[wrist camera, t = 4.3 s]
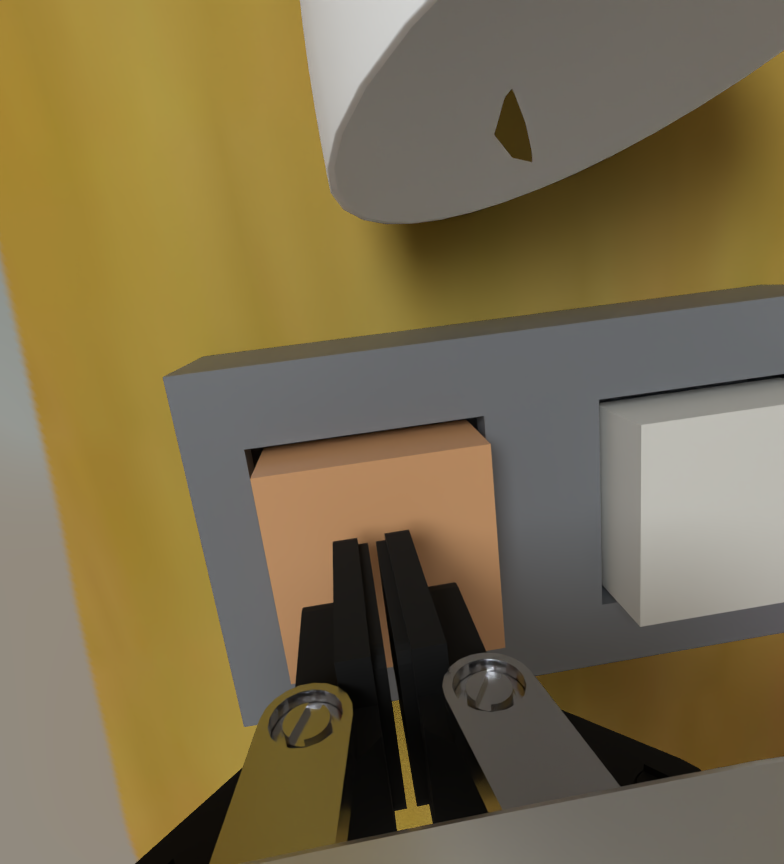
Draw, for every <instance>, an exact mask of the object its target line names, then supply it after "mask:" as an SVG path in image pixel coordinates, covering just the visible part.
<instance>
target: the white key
mask: <svg viewBox="0 0 784 864" xmlns="http://www.w3.org/2000/svg"><path fill="white" fill-rule="evenodd" d="M599 432H600V496H601V560H602V585H603V586H604V587H605V588H606V590H607V591H608V592H609V593H610V594H611V595H612V596H613V597H614V598H615V600H616V601H617V602H618V603H619V604H620V605H621V606H622V607H623V608H624V609H625V611H626V612H627V613H628V614H629V615H630V616H631V617H632V618H633V619H634V621H635V622H636V623H637V624H638V625H639V626H640V627H642V626H648V625H654V624H660V623H666V622H672V621H678V620H683V619H689V618H695V617H701V616H707V615H713V614H718V613H724V612H730V611H736V610H742V609H748V608H754V607H759V606H765V605H771V604H777V603H783V602H784V378H773V379H766V380H759V381H752V382H745V383H737V384H730V385H723V386H716V387H709V388H702V389H695V390H688V391H681V392H674V393H667V394H659V395H652V396H645V397H638V398H631V399H624V400H617V401H610V402H603V403H599Z"/></svg>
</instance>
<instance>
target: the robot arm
mask: <svg viewBox="0 0 784 864" xmlns="http://www.w3.org/2000/svg"><path fill="white" fill-rule="evenodd" d="M384 535H385V540H382V541H376V547H377V555H378V562H379V569H380V576H381V584H382V591H383V598H384V605H385V613H386V620H387V627H388V634H389V642H390V649H391V655H392V662H393V668H394V674H395V680H396V686H397V691H398V697H399V703H400V709H401V715H402V721H403V727H404V733H405V738H406V744H407V750H408V756H409V762H410V768H411V774H412V780H413V785H414V791H415V797H416V803H417V806H422V805H427V804H429V806H430V811H431V816H432V821H433V824H430V825H425V826H420V827H415V828H410V829H405V830H400V831H397V828H396V820H395V812H394V811H397V810H402V809H407V806H406V799H405V792H404V785H403V778H402V771H401V763H400V756H399V749H398V742H397V735H396V728H395V721H394V714H393V707H392V700H391V693H390V686H389V679H388V672H387V665H386V658H385V651H384V645H383V638H382V631H381V625H380V618H379V612H378V605H377V599H376V592H375V586H374V579H373V573H372V566H371V560H370V553H369V547H368V543H363V544H358V539H357V538H352V539H346V540H339V541H333V603H327V604H321V605H315V606H309V607H303V608H302V613H301V624H300V636H299V648H298V659H297V671H296V683H295V688H293V689H290V690H288V691H286V692H284V693H283V694H281V695H280V696H278V697H277V698H275V699H274V700H273V701H272V702H271V703H270V704H269V705H268V707H267V708H266V709H265V710H264V712H263V714H262V716H261V718H260V720H259V722H258V725H257V728H256V731H255V734H254V736H253V739H252V742H251V745H250V748H249V751H248V754H247V757H246V759H245V762H244V765H243V768H242V769H240V770H239V771H238V772H237V773H236V774H235V775H234V776H233V777H232V778H230V779H229V780H228V781H227V782H226V783H225V784H224V785H223V786H221V787H220V788H219V789H218V790H217V791H216V792H215V793H214V794H213V795H211V796H210V797H209V798H208V799H207V800H206V801H205V802H204V803H202V804H201V805H200V806H199V807H198V808H197V809H196V810H195V811H194V812H192V813H191V814H190V815H189V816H188V817H187V818H186V819H185V820H183V821H182V822H181V823H180V824H179V825H178V826H177V827H176V828H175V829H173V830H172V831H171V832H170V833H169V834H168V835H167V836H166V837H164V838H163V839H162V840H161V841H160V842H159V843H158V844H157V845H156V846H154V847H153V848H152V849H151V850H150V851H149V852H148V853H147V854H145V855H144V856H143V857H142V858H141V859H140V860H139V861H138V862H137V863H135V864H784V756H783V757H777V758H770V759H764V760H757V761H751V762H746V763H741V764H736V765H732V766H726V767H721V768H716V769H710V770H705V771H701V770H700V769H699V768H697V767H695V766H693V765H691V764H689V763H688V762H686V761H684V760H682V759H680V758H677V757H675V756H673V755H670V754H668V753H665V752H663V751H660V750H658V749H656V748H653V747H651V746H648V745H646V744H643V743H641V742H638V741H636V740H634V739H631V738H629V737H626V736H624V735H621V734H619V733H617V732H614V731H612V730H609V729H607V728H604V727H602V726H600V725H597V724H595V723H592V722H590V721H587V720H585V719H582V718H580V717H578V716H575V715H573V714H570V713H568V712H565V711H563V710H561V709H560V708H559V707H558V705H557V704H556V703H555V702H554V700H553V699H552V698H551V696H550V695H549V694H548V692H547V691H546V690H545V689H544V687H543V686H542V685H541V683H540V682H539V681H538V680H537V678H536V677H535V676H534V674H533V673H532V672H531V671H530V670H529V669H528V668H527V667H526V666H525V665H524V664H523V663H522V662H520V661H518V660H516V659H514V658H512V657H510V656H506V655H502V654H498V653H487V652H486V649H485V647H484V645H483V643H482V640H481V638H480V636H479V633H478V631H477V629H476V626H475V624H474V622H473V620H472V617H471V615H470V613H469V610H468V608H467V606H466V604H465V601H464V599H463V597H462V594H461V592H460V590H459V587H458V585H457V584H456V583H455V582H453V583H447V584H441V585H435V586H429V587H428V585H427V582H426V579H425V576H424V573H423V570H422V567H421V564H420V561H419V558H418V555H417V552H416V549H415V546H414V543H413V540H412V537H411V534H410V531H409V530H403V531H396V532H390V533H384Z"/></svg>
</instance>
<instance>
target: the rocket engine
mask: <svg viewBox="0 0 784 864" xmlns="http://www.w3.org/2000/svg"><path fill="white" fill-rule="evenodd" d="M300 4H301V13H302V22H303V30H304V37H305V45H306V52H307V60H308V67H309V74H310V80H311V86H312V93H313V99H314V105H315V111H316V117H317V123H318V128H319V134H320V140H321V145H322V150H323V156H324V161H325V166H326V172H327V177H328V182H329V187H330V192H331V194H332V195H333V196H334V198H335V199H336V200H337V202H338V203H339V204H340V206H341V207H342V208H343V209H344V210H345V211H347V212H349V213H351V214H353V215H355V216H357V217H359V218H361V219H363V220H367V221H373V222H378V223H383V224H414V223H421V222H429V221H436V220H442V219H446V218H451V217H455V216H459V215H464V214H468V213H472V212H475V211H478V210H482V209H485V208H488V207H491V206H494V205H497V204H500V203H503V202H506V201H509V200H511V199H514V198H517V197H519V196H522V195H525V194H527V193H530V192H533V191H535V190H538V189H540V188H543V187H545V186H548V185H550V184H552V183H555V182H557V181H560V180H562V179H564V178H566V177H569V176H571V175H573V174H576V173H578V172H580V171H582V170H584V169H586V168H588V167H590V166H592V165H594V164H596V163H598V162H600V161H602V160H604V159H607V158H609V157H611V156H613V155H615V154H617V153H618V152H620V151H622V150H624V149H626V148H628V147H630V146H631V145H633V144H635V143H637V142H639V141H641V140H643V139H644V138H646V137H648V136H650V135H652V134H654V133H656V132H657V131H659V130H661V129H662V128H664V127H666V126H667V125H669V124H671V123H673V122H674V121H676V120H678V119H679V118H681V117H683V116H684V115H686V114H688V113H690V112H691V111H693V110H695V109H696V108H698V107H700V106H701V105H703V104H704V103H706V102H707V101H709V100H711V99H712V98H714V97H715V96H717V95H718V94H720V93H721V92H723V91H725V90H726V89H728V88H729V87H731V86H732V85H734V84H735V83H737V82H739V81H740V80H742V79H743V78H745V77H746V76H748V75H749V74H751V73H752V72H753V71H755V70H756V69H758V68H759V67H761V66H762V65H763V64H765V63H766V62H768V61H769V60H771V59H772V58H773V57H775V56H776V55H778V54H779V53H781V52H782V51H783V50H784V0H300ZM511 89H512V90H513V92H514V94H515V96H516V99H517V102H518V104H519V107H520V110H521V112H522V115H523V118H524V120H525V123H526V128H527V132H528V137H529V141H530V146H531V150H532V162H529V161H524V160H520V159H515V158H512V157H511V156H510V154H509V153H508V152H507V150H506V149H505V148H504V147H503V145H502V144H501V143H500V141H499V140H498V139H497V138H496V136H495V135H494V133H495V130H496V126H497V123H498V119H499V116H500V112H501V109H502V105H503V102H504V98H505V97H506V95H507V94H508V93H509V92H510V90H511Z"/></svg>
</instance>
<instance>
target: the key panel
mask: <svg viewBox="0 0 784 864" xmlns="http://www.w3.org/2000/svg"><path fill="white" fill-rule="evenodd" d="M773 378H784V285H757V286H749V287H741V288H733V289H726V290H718V291H710V292H702V293H694V294H687V295H679V296H671V297H663V298H656V299H648V300H640V301H632V302H624V303H617V304H609V305H601V306H593V307H585V308H578V309H570V310H562V311H554V312H546V313H539V314H531V315H523V316H515V317H508V318H500V319H492V320H484V321H476V322H469V323H461V324H453V325H445V326H437V327H430V328H422V329H414V330H406V331H398V332H391V333H383V334H375V335H367V336H359V337H352V338H344V339H336V340H328V341H321V342H313V343H305V344H297V345H289V346H282V347H274V348H266V349H258V350H250V351H243V352H235V353H227V354H219V355H211V356H204V357H201V358H199V359H197V360H195V361H193V362H192V363H190V364H188V365H186V366H184V367H182V368H180V369H178V370H176V371H174V372H172V373H170V374H168V375H166V376H164V377H163V381H164V385H165V389H166V393H167V398H168V402H169V406H170V411H171V415H172V419H173V423H174V428H175V432H176V436H177V441H178V445H179V449H180V453H181V458H182V462H183V466H184V471H185V475H186V479H187V483H188V488H189V492H190V496H191V501H192V505H193V509H194V513H195V518H196V522H197V526H198V531H199V535H200V539H201V544H202V548H203V552H204V556H205V561H206V565H207V569H208V574H209V578H210V582H211V586H212V591H213V595H214V599H215V604H216V608H217V612H218V616H219V621H220V625H221V629H222V634H223V638H224V642H225V646H226V651H227V655H228V659H229V664H230V668H231V672H232V677H233V681H234V685H235V689H236V694H237V698H238V702H239V707H240V711H241V715H242V719H243V724H244V727H247V726H253V725H258V722H259V720H260V718H261V716H262V714H263V712H264V710H265V709H266V708H267V707H268V705H269V704H270V703H271V702H272V701H273V700H274V699H275V698H277V697H278V696H280V695H281V694H283V693H284V692H286V691H288V690H290V689H293V688H295V684H291V681H290V676H289V671H288V666H287V661H286V656H285V651H284V646H283V641H282V636H281V631H280V626H279V621H278V616H277V611H276V606H275V601H274V596H273V591H272V586H271V581H270V576H269V571H268V566H267V561H266V556H265V551H264V546H263V541H262V536H261V531H260V526H259V521H258V516H257V511H256V506H255V501H254V496H253V491H252V486H251V481H250V478H251V476H252V473H253V471H254V469H255V467H256V464H257V462H258V460H259V458H260V455H261V453H262V451H263V449H264V448H266V447H273V446H280V445H287V444H294V443H302V442H309V441H316V440H323V439H330V438H337V437H344V436H351V435H358V434H365V433H373V432H380V431H387V430H394V429H401V428H408V427H415V426H422V425H429V424H437V423H444V422H451V421H458V420H465V419H466V420H467V421H468V422H469V423H470V424H471V425H472V426H473V427H474V428H475V429H476V430H477V431H478V432H479V433H480V434H481V435H482V436H483V437H484V438H485V439H486V440H487V441H488V442H489V443H490V444H491V455H492V469H493V483H494V496H495V510H496V524H497V538H498V552H499V566H500V580H501V594H502V608H503V622H504V636H505V648H501V649H495V650H489V651H486V652H487V653H498V654H502V655H506V656H510V657H512V658H514V659H516V660H518V661H520V662H522V663H523V664H524V665H525V666H526V667H527V668H528V669H529V670H530V671H531V672H532V673H533V674H534V676H538V675H544V674H549V673H555V672H561V671H567V670H572V669H578V668H584V667H589V666H595V665H601V664H607V663H612V662H618V661H624V660H629V659H635V658H641V657H647V656H652V655H658V654H664V653H669V652H675V651H681V650H687V649H692V648H698V647H704V646H709V645H715V644H721V643H727V642H732V641H738V640H744V639H749V638H755V637H761V636H767V635H772V634H778V633H784V602H783V603H777V604H771V605H765V606H759V607H754V608H748V609H742V610H736V611H730V612H724V613H718V614H713V615H707V616H701V617H695V618H689V619H683V620H678V621H672V622H666V623H660V624H654V625H648V626H642V627H640V626H639V625H638V624H637V623H636V622H635V621H634V619H633V618H632V617H631V616H630V615H629V614H628V613H627V612H626V611H625V609H624V608H623V607H622V606H621V605H620V604H619V603H618V602H617V601H616V600H615V598H614V597H613V596H612V595H611V594H610V593H609V592H608V591H607V590H606V588H605V587H604V586H603V585H602V560H601V496H600V432H599V403H603V402H610V401H617V400H624V399H631V398H638V397H645V396H652V395H659V394H667V393H674V392H681V391H688V390H695V389H702V388H709V387H716V386H723V385H730V384H737V383H745V382H752V381H759V380H766V379H773ZM387 672H388V679H389V686H390V693H391V700H392V701H395V700H399V697H398V691H397V686H396V680H395V674H394V668H393V667H389V668H387Z"/></svg>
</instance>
